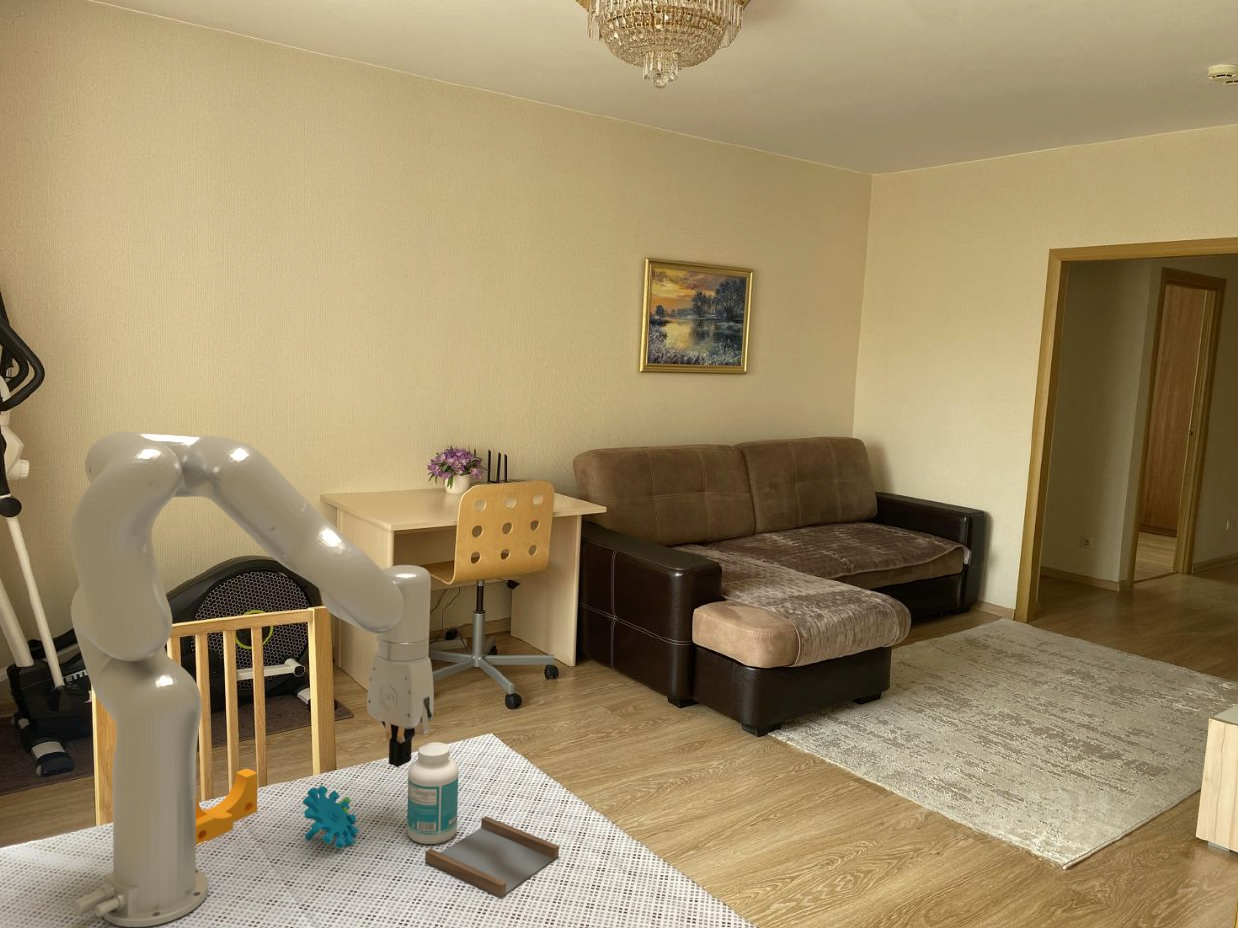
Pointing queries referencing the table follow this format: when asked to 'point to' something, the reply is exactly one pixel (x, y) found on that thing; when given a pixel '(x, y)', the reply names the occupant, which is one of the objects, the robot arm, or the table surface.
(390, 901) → the table surface
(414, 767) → the pill bottle
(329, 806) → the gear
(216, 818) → the pipe clamp
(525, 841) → the cradle
